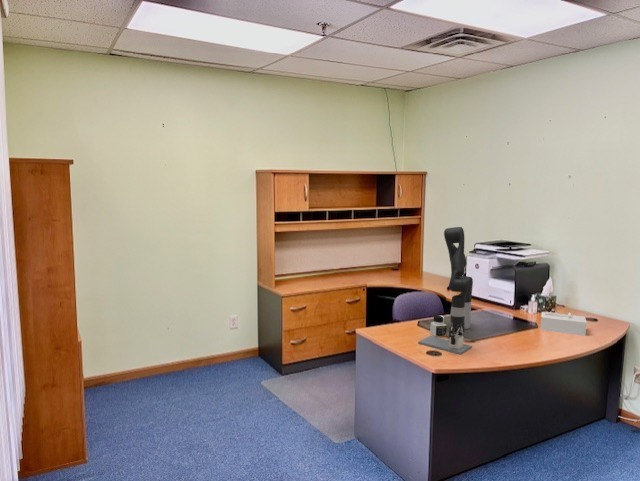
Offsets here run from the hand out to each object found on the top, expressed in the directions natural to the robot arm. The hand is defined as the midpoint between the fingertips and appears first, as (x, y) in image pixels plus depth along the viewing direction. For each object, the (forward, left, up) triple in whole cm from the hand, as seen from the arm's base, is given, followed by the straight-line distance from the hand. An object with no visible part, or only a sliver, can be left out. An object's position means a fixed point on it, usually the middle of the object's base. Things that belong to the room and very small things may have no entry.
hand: (456, 342), depth 266 cm
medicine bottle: (-15, -19, -4) cm, 25 cm away
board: (0, -7, -4) cm, 8 cm away
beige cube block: (0, 0, -2) cm, 2 cm away
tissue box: (-78, +34, -4) cm, 86 cm away
